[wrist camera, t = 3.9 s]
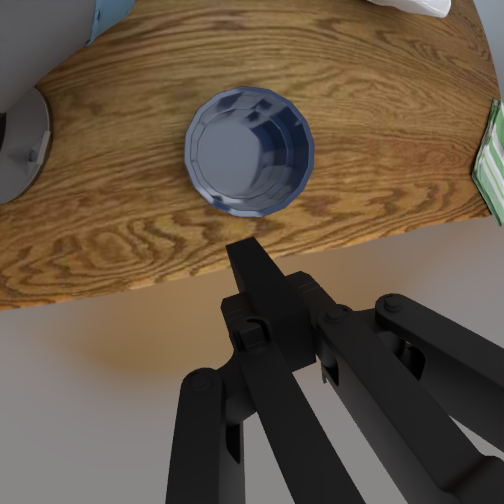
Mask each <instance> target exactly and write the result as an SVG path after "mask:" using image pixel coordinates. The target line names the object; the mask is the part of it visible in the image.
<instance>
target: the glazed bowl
mask: <svg viewBox="0 0 504 504" xmlns="http://www.w3.org/2000/svg"><path fill="white" fill-rule="evenodd" d="M314 146H315V145H314V141H313V138H312V135H311V132H310V129H309V126H308V123H307V121H306V119H305V118H304V117H303V115H302V114H301V113H300V112H299V111H298V109H297V108H296V107H295V106H294V105H293V103H292V102H291V101H289V100H287V99H286V98H284V97H282V96H280V95H278V94H277V93H275V92H273V91H271V90H268V89H263V88H255V87H247V86H242V87H238V88H234V89H231V90H227V91H224V92H220V93H218V94H216V95H215V96H214V97H212V98H211V99H210V100H209V101H207V102H206V103H205V104H204V105H203V106H201V107H200V108H199V109H198V110H197V111H196V113H195V115H194V117H193V119H192V121H191V123H190V125H189V127H188V129H187V131H186V133H185V137H184V141H183V148H182V166H183V169H184V172H185V174H186V177H187V180H188V182H189V184H190V186H191V187H192V188H193V189H194V190H195V191H196V192H197V193H198V194H199V195H200V196H201V197H202V198H203V199H204V200H205V201H206V202H208V203H209V204H210V205H211V206H213V207H215V208H217V209H220V210H222V211H224V212H227V213H229V214H231V215H234V216H237V217H264V216H266V215H269V214H271V213H274V212H276V211H279V210H281V209H284V208H285V207H287V206H288V205H289V204H290V203H291V202H292V201H293V200H294V199H295V198H296V197H297V196H298V195H299V194H300V193H301V192H303V190H304V188H305V186H306V184H307V181H308V179H309V177H310V175H311V173H312V170H313V165H314Z"/></svg>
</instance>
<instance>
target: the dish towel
mask: <svg viewBox="0 0 504 504" xmlns="http://www.w3.org/2000/svg"><path fill="white" fill-rule="evenodd" d="M492 103H493V104H492V107H491V111H490V116H489V119H488V127H487V129H486V132H485V134H484V137H483V139H482V142H481V146H480V150H479V153H478V155H477V158H476V162H475V166H474V168H473V171H472V178H473V180H474V181H475V183H476V185H477V187H478V189H479V190H480V192H481V194H482V196H483V198H484V199H485V201H486V203H487V205H488V207H489V209H490V211H491V212H492V214H493V216H494V218H495V220H496V222H497V223H498V225H499V226H500V227H501V226H502V224H503V222H504V105H503V103H502V101H501V99H498V100H496V99H494V100H493V102H492Z"/></svg>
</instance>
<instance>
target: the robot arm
mask: <svg viewBox="0 0 504 504" xmlns="http://www.w3.org/2000/svg"><path fill="white" fill-rule="evenodd" d="M135 1H136V0H0V204H3V203H7V202H10V201H13V200H15V199H17V198H18V197H20V196H21V195H23V194H24V193H25V192H26V191H27V190H28V189H29V188H30V187H31V186H32V185H33V184H34V183H35V181H36V180H37V178H38V177H39V175H40V173H41V172H42V170H43V168H44V166H45V163H46V161H47V158H48V155H49V152H50V148H51V143H52V137H53V119H52V113H51V109H50V106H49V103H48V101H47V99H46V98H45V96H44V95H43V94H42V92H41V91H40V90H38V89H37V88H36V87H34V85H35V84H36V83H38V82H39V81H40V80H41V79H42V78H43V77H45V76H46V75H47V74H48V73H49V72H51V71H52V70H53V69H54V68H56V67H57V66H58V65H59V64H61V63H62V62H63V61H65V60H66V59H67V58H68V57H70V56H71V55H73V54H74V53H75V52H77V51H78V50H79V49H81V48H82V47H87V46H89V45H90V44H91V43H92V42H93V41H94V39H95V38H96V37H97V36H99V35H100V34H102V33H103V32H104V31H106V30H107V29H109V28H110V27H112V26H114V25H115V24H117V23H118V22H120V21H121V20H123V19H124V18H125V17H126V16H127V15H128V14H129V13H130V12H131V10H132V8H133V6H134V4H135ZM226 250H227V253H228V257H229V260H230V263H231V267H232V270H233V273H234V277H235V280H236V283H237V287H238V290H239V292H240V293H239V294H236V295H233V296H230V297H227V298H224V299H223V301H222V304H221V311H222V313H223V317H224V319H225V322H226V325H227V328H228V331H229V337H230V340H231V343H232V345H233V348H234V352H233V355H232V357H231V359H230V360H229V361H228V362H227V363H226V364H225V365H224V366H222V367H220V368H219V369H217V370H214V369H212V368H200V369H197V370H194V371H192V372H190V373H189V374H188V375H187V376H186V377H185V378H184V379H183V382H182V384H181V389H180V396H179V402H178V408H177V415H176V422H175V429H174V436H173V443H172V451H171V459H170V467H169V475H168V484H167V493H166V503H165V504H245V475H244V438H243V420H245V419H246V418H248V417H249V416H251V415H252V414H254V413H255V412H257V413H258V415H259V418H260V420H261V423H262V426H263V428H264V431H265V433H266V436H267V438H268V441H269V443H270V446H271V448H272V451H273V453H274V456H275V458H276V460H277V463H278V465H279V468H280V470H281V472H282V475H283V477H284V479H285V482H286V484H287V486H288V489H289V491H290V493H291V496H292V498H293V500H294V502H295V504H366V503H365V501H364V500H363V498H362V496H361V495H360V493H359V491H358V490H357V488H356V486H355V484H354V483H353V481H352V479H351V477H350V476H349V474H348V473H347V471H346V469H345V467H344V465H343V464H342V462H341V460H340V458H339V457H338V455H337V453H336V451H335V449H334V448H333V446H332V444H331V442H330V441H329V439H328V437H327V435H326V434H325V432H324V430H323V428H322V426H321V425H320V423H319V421H318V419H317V417H316V416H315V414H314V412H313V410H312V408H311V407H310V405H309V403H308V401H307V399H306V398H305V396H304V394H303V392H302V390H301V388H300V387H299V385H298V383H297V381H296V379H295V377H294V376H293V374H292V372H294V371H296V370H299V369H301V368H304V367H306V366H308V365H311V364H313V363H315V362H316V355H317V356H318V358H319V359H320V361H321V369H322V379H323V382H324V383H326V378H327V379H328V381H329V382H330V384H331V385H332V387H333V388H334V390H335V392H336V393H337V395H338V396H339V398H340V399H341V401H342V402H343V404H344V405H345V407H346V409H347V410H348V412H349V413H350V415H351V416H352V418H353V420H354V421H355V423H356V424H357V426H358V427H359V429H360V430H361V432H362V433H363V435H364V437H365V438H366V440H367V441H368V443H369V444H370V446H371V447H372V449H373V450H374V452H375V453H376V455H377V457H378V458H379V460H380V461H381V462H382V464H383V466H384V467H385V469H386V470H387V472H388V474H389V475H390V477H391V478H392V480H393V481H394V483H395V484H396V486H397V487H398V489H399V491H400V492H401V493H402V495H403V497H404V498H405V500H406V501H407V503H408V504H504V461H503V460H501V459H500V458H498V457H496V456H485V455H483V454H481V453H480V452H479V451H478V450H477V449H476V447H475V446H474V445H473V444H472V443H471V441H470V440H469V439H468V438H467V437H466V436H465V434H464V433H463V432H462V431H461V429H460V428H459V427H458V426H457V425H456V424H455V422H454V421H453V420H452V419H451V418H450V417H449V416H451V417H452V418H454V419H455V420H457V421H458V422H460V423H461V424H462V425H464V426H465V427H467V428H469V429H470V430H471V431H473V432H474V433H476V434H477V435H479V436H480V437H482V438H483V439H484V440H486V441H487V442H489V443H490V444H492V445H494V446H495V447H496V448H498V449H499V450H501V451H502V452H504V349H503V348H502V347H500V346H498V345H496V344H494V343H493V342H490V341H489V340H487V339H485V338H483V337H482V336H480V335H478V334H476V333H474V332H472V331H471V330H468V329H467V328H465V327H463V326H461V325H459V324H457V323H456V322H453V321H452V320H450V319H448V318H446V317H444V316H442V315H440V314H438V313H436V312H435V311H433V310H431V309H429V308H427V307H425V306H423V305H421V304H419V303H417V302H415V301H413V300H411V299H409V298H407V297H406V296H403V295H400V294H392V293H391V294H386V295H383V296H381V297H379V299H378V300H377V301H376V304H375V308H373V309H367V310H362V311H353V310H352V309H351V308H349V307H348V306H345V305H341V304H336V303H335V301H333V299H332V298H331V297H330V296H329V295H328V294H327V293H326V292H325V291H324V290H323V288H322V287H320V285H319V284H318V283H317V282H316V281H315V280H314V279H313V278H312V277H311V276H310V275H309V274H307V273H304V272H302V271H299V272H296V273H293V274H290V275H288V276H284V275H283V273H282V272H281V271H280V269H279V268H278V267H277V265H276V264H275V263H274V262H273V260H272V259H271V258H270V257H269V255H268V254H267V253H266V251H265V250H264V249H263V248H262V246H261V245H260V244H259V243H258V241H257V240H256V239H255V238H254V237H251V238H247V239H244V240H241V241H238V242H235V243H232V244H229V245H226ZM406 341H407V342H408V343H407V342H406ZM409 343H410V344H409ZM315 353H316V354H315Z"/></svg>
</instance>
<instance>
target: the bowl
mask: <svg viewBox="0 0 504 504" xmlns="http://www.w3.org/2000/svg"><path fill="white" fill-rule="evenodd" d="M367 1H370V2H372V3H374V4H377V5H381V6H394V7H396V8H398V9H400V10H402V11H406V12H409V13H416V14H423V15H429V16H435V17H440V18H444V17H445V16H446V15H447V13H448V11H449V9H450V7H451V0H367Z"/></svg>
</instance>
